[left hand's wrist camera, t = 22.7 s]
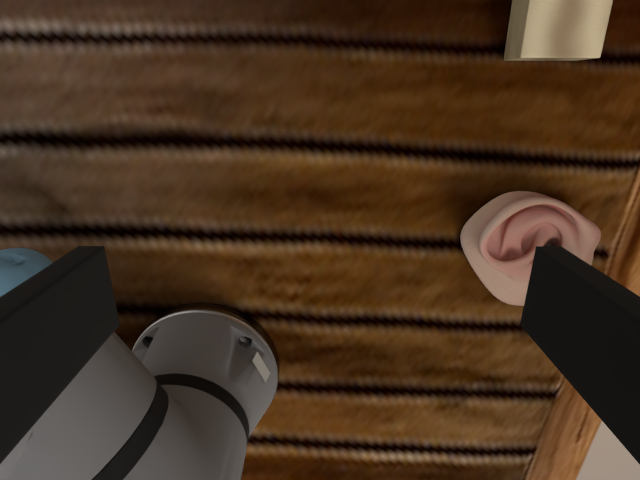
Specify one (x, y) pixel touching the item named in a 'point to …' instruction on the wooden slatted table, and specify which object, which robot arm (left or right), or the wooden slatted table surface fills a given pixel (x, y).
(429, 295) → the wooden slatted table surface
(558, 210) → the anatomical model
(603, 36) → the birch board
